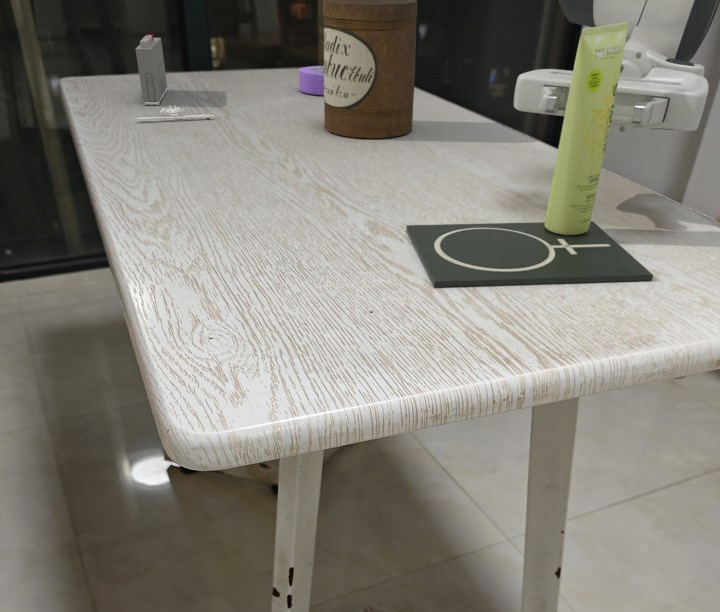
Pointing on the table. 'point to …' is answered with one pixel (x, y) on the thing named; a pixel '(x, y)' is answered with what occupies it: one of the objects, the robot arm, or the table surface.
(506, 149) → the table surface
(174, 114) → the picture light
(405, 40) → the wooden container
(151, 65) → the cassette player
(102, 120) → the table surface
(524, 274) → the chalkboard
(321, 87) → the tape roll
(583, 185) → the tube
